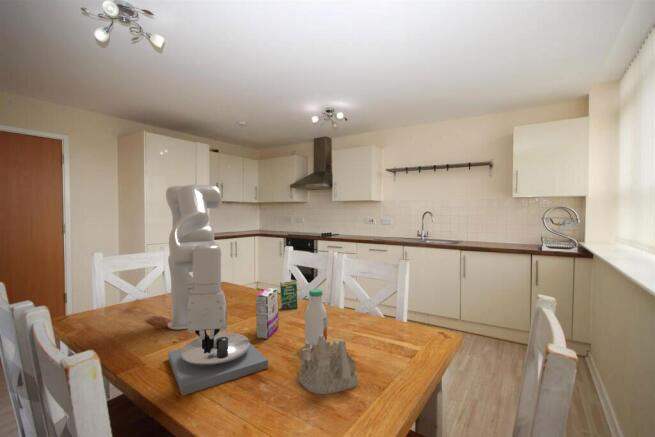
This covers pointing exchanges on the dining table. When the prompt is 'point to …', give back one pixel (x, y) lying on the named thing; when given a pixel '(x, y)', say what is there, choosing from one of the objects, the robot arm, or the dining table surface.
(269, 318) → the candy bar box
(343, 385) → the grey rough lump
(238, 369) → the grey base block
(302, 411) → the dining table surface
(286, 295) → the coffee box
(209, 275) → the robot arm
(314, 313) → the milk bottle
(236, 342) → the handwheel
